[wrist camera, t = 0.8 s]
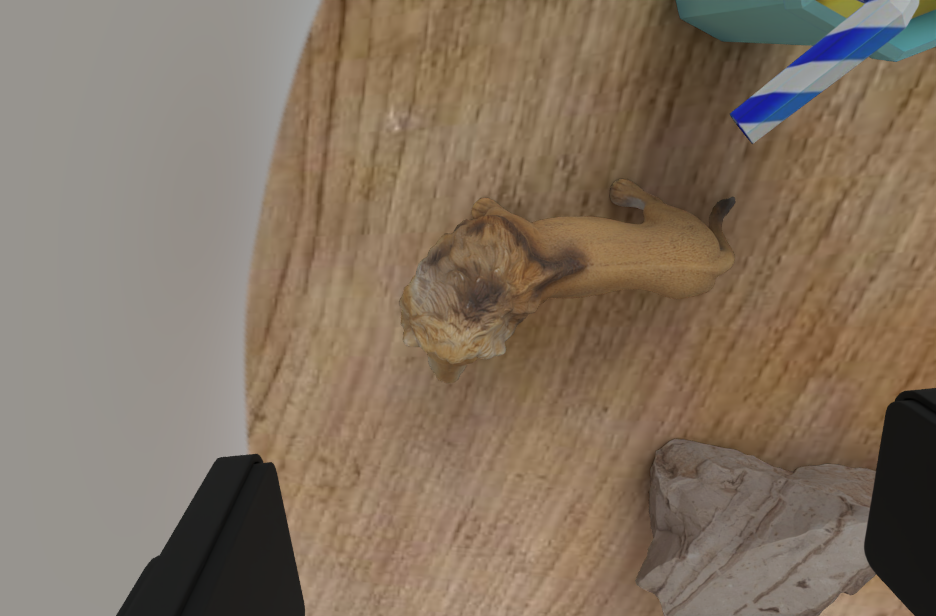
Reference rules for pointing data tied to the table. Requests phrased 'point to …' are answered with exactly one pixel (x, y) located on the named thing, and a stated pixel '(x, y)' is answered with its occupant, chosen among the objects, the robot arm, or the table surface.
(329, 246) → the table surface
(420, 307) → the lion figurine
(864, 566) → the stone
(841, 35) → the cup
